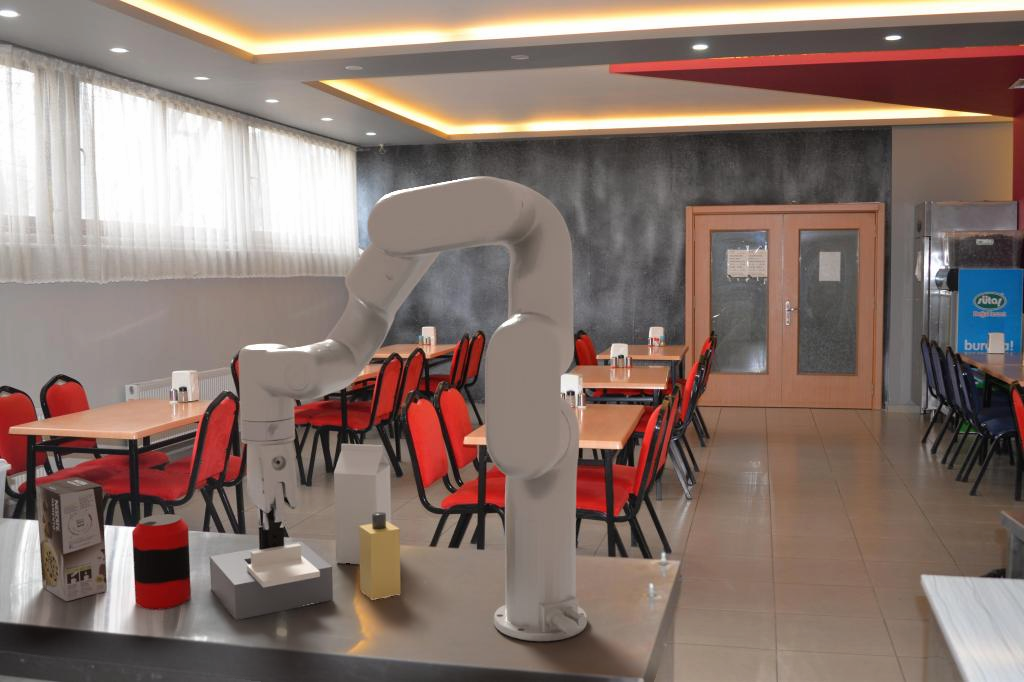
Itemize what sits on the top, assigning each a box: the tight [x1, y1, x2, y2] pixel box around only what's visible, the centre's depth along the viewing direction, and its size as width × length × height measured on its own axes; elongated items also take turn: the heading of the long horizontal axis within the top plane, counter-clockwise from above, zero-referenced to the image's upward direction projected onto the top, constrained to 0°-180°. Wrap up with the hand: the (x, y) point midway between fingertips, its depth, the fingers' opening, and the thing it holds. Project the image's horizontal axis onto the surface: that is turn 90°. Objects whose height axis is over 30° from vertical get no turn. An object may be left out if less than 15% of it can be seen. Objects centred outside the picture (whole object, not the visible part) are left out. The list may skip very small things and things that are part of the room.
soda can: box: [131, 513, 192, 610], centre depth 136 cm, size 8×8×12 cm
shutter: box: [247, 543, 320, 587], centre depth 133 cm, size 8×8×3 cm
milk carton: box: [333, 443, 392, 565], centre depth 154 cm, size 7×7×19 cm
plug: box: [359, 512, 402, 599], centre depth 139 cm, size 4×4×12 cm
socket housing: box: [209, 540, 334, 621], centre depth 138 cm, size 14×14×5 cm
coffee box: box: [35, 476, 108, 602], centre depth 140 cm, size 9×6×16 cm
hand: (271, 553), depth 137 cm, fingers closed
